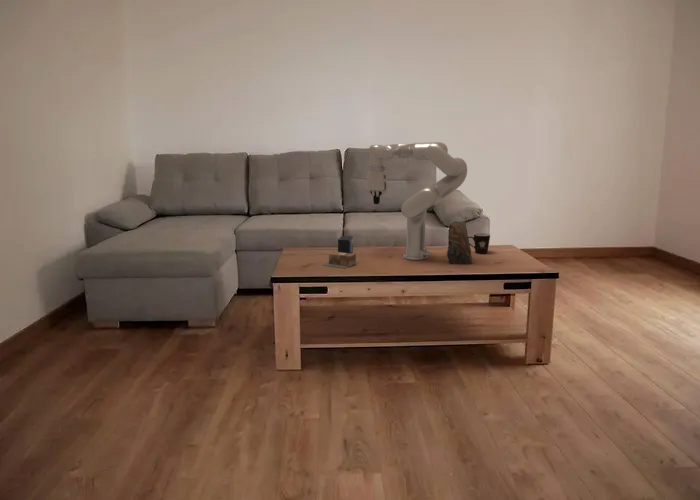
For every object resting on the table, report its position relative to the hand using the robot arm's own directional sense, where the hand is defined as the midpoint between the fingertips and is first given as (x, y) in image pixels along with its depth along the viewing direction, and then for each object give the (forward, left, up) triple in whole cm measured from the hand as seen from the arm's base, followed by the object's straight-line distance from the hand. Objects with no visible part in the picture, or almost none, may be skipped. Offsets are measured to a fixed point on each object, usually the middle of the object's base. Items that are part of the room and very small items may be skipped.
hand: (376, 203), depth 310 cm
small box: (+11, +14, -27) cm, 33 cm away
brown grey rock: (-46, -3, -27) cm, 54 cm away
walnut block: (-2, +29, -24) cm, 38 cm away
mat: (+5, +29, -27) cm, 40 cm away
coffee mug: (-47, -29, -27) cm, 62 cm away
